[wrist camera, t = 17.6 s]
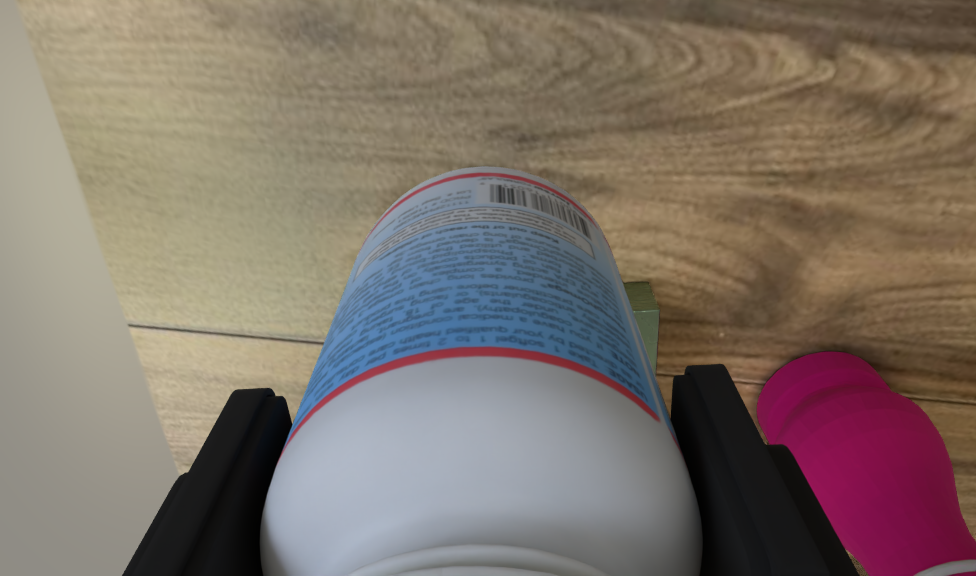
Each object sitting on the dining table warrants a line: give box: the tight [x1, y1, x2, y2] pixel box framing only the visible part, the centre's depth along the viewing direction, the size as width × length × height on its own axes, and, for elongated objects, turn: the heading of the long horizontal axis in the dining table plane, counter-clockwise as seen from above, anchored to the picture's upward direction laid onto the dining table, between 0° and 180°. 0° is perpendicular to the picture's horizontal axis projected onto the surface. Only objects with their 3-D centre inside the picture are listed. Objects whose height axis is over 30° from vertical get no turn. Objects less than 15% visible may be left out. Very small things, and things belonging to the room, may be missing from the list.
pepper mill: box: [757, 351, 976, 576], centre depth 27 cm, size 7×7×20 cm
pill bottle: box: [260, 166, 703, 576], centre depth 12 cm, size 6×6×11 cm
